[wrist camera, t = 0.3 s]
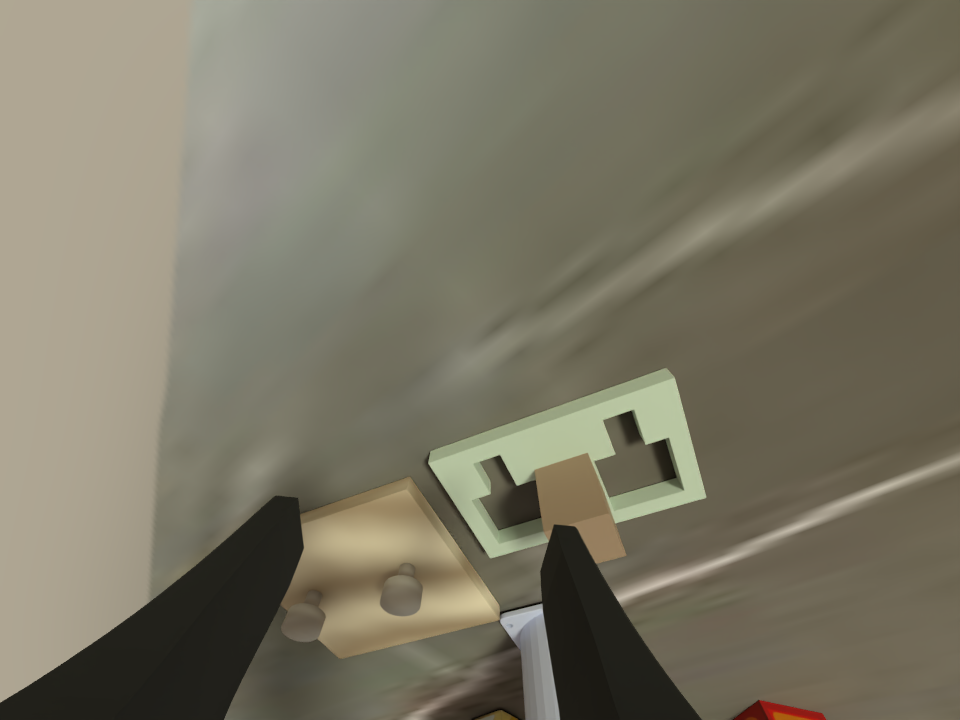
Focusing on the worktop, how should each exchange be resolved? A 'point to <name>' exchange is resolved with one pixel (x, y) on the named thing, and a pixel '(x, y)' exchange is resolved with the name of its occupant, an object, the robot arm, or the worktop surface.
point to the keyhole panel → (566, 443)
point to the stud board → (381, 575)
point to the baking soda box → (777, 713)
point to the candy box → (497, 716)
